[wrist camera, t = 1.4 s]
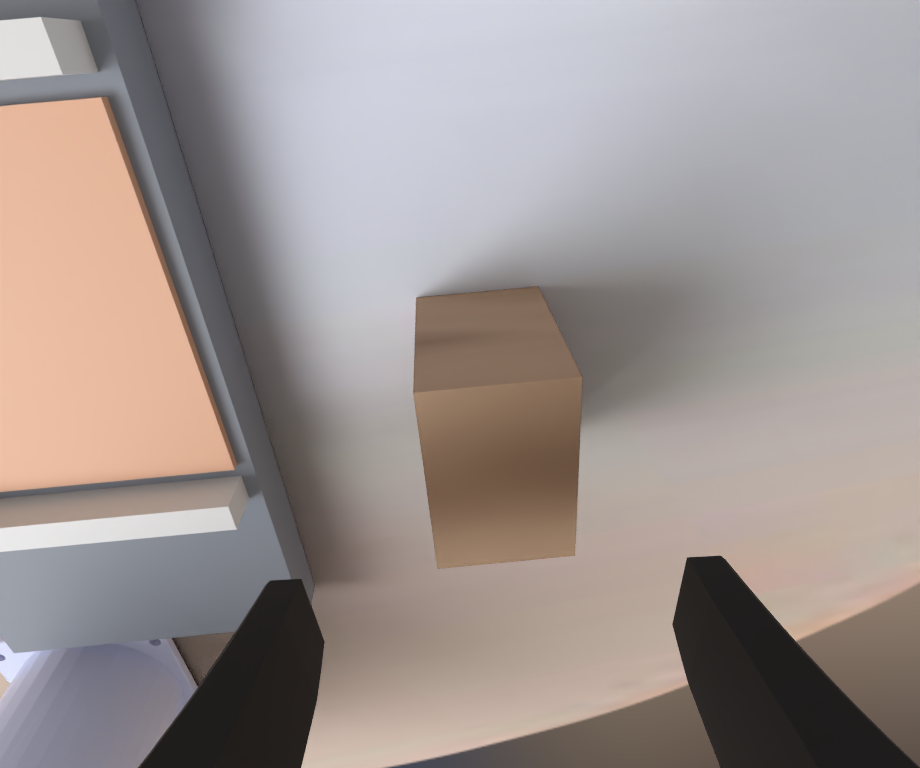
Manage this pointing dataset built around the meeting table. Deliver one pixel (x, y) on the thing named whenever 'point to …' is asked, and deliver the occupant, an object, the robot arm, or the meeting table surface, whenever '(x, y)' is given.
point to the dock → (118, 358)
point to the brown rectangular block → (497, 426)
